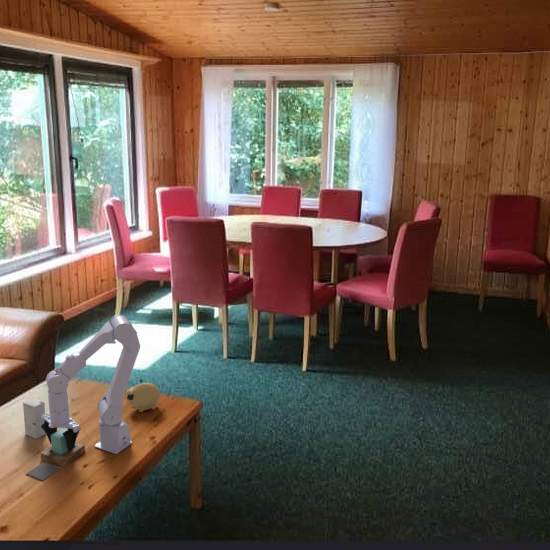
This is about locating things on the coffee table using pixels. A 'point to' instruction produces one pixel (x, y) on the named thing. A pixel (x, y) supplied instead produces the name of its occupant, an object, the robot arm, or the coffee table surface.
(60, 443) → the teal block
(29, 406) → the skincare box
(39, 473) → the mat
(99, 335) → the robot arm
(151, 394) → the cream rounded figure
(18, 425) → the coffee table surface
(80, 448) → the block
